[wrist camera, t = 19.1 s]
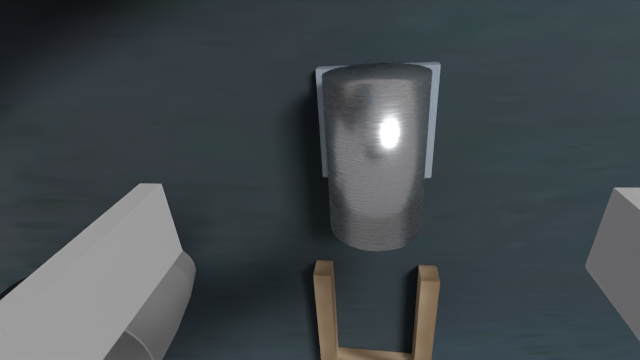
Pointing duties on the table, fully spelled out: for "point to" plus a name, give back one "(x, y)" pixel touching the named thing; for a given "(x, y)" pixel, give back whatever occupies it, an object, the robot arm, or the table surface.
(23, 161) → the table surface
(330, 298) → the wooden flat frame
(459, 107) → the table surface
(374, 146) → the grey metal cylinder
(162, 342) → the cup
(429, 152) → the v block
